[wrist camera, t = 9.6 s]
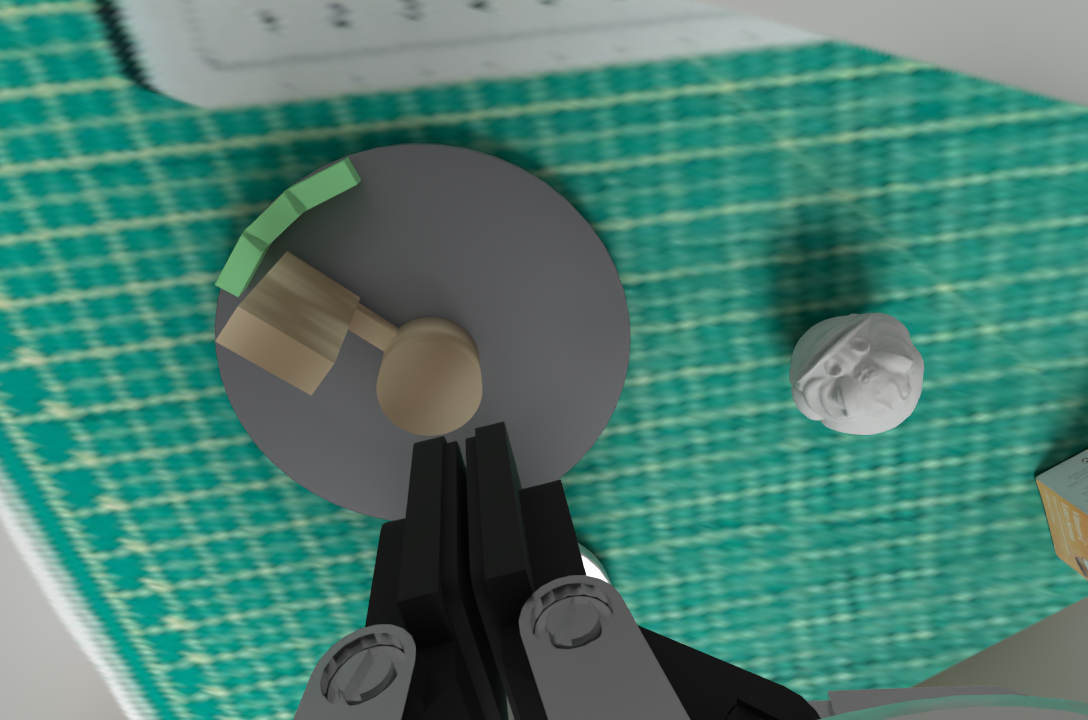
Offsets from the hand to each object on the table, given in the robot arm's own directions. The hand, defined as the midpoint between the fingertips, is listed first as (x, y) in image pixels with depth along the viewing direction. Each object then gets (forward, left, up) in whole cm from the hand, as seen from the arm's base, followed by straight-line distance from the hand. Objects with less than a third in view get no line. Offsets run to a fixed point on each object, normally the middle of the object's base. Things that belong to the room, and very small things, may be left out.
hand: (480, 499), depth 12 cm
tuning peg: (-5, +2, -18) cm, 19 cm away
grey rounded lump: (+1, -19, -20) cm, 28 cm away
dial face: (-5, 0, -20) cm, 20 cm away
